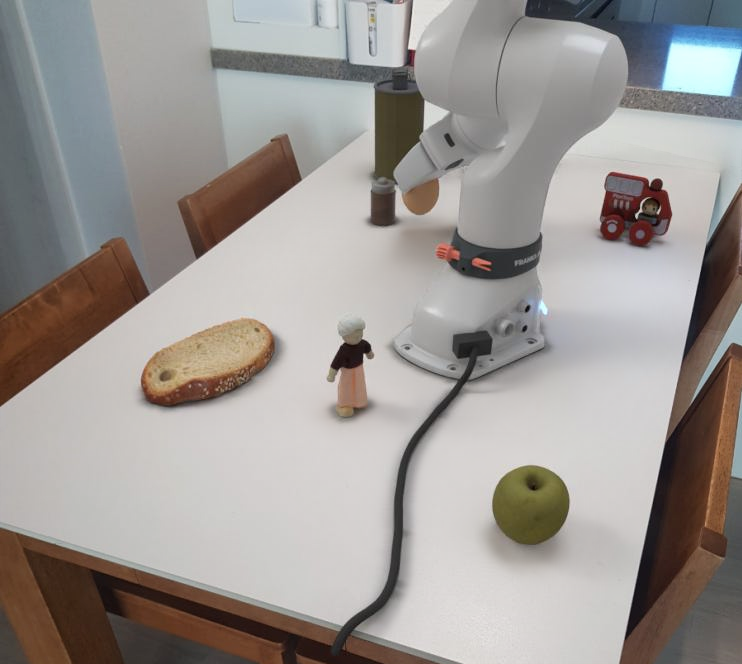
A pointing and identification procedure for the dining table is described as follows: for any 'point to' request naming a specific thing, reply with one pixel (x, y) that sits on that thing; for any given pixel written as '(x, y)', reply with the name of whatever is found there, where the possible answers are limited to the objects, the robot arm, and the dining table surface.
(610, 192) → the toy fire truck
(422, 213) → the egg
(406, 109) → the canister
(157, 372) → the slice of bread
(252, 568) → the dining table surface
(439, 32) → the robot arm
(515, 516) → the apple
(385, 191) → the pepper shaker
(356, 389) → the grandmother figurine
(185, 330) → the dining table surface
